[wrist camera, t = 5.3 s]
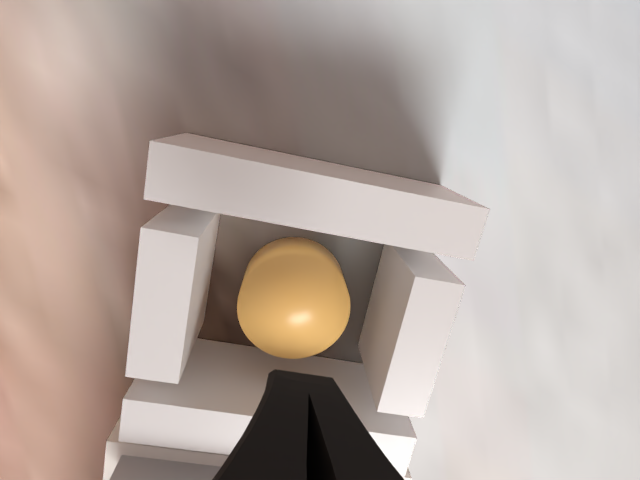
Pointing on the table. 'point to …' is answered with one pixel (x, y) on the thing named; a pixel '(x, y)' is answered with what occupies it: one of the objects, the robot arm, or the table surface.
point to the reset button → (293, 299)
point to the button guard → (251, 362)
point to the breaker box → (160, 462)
